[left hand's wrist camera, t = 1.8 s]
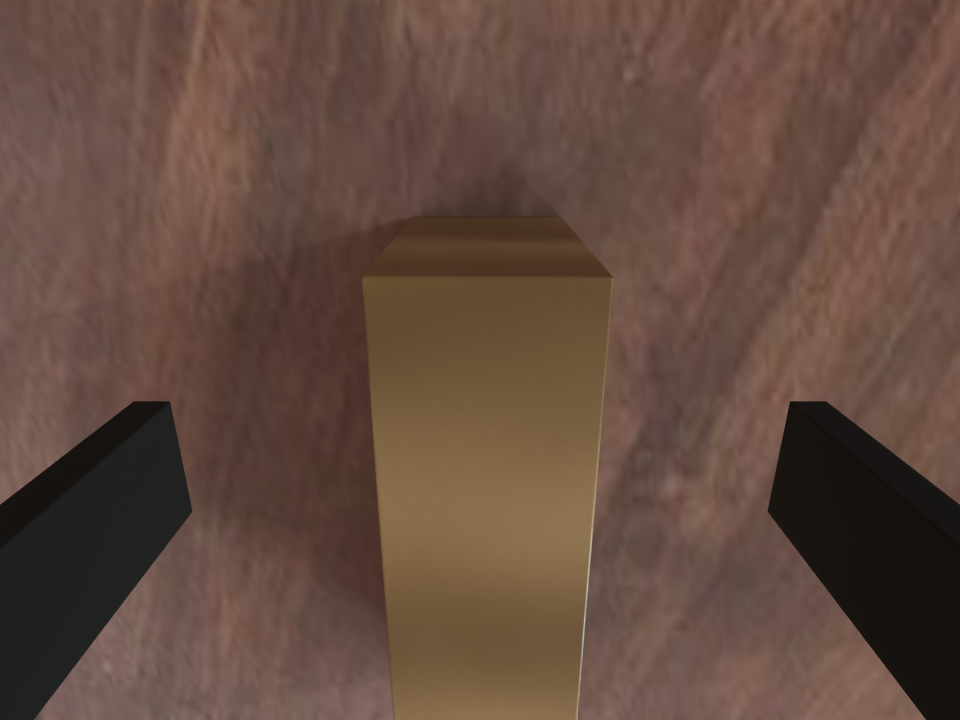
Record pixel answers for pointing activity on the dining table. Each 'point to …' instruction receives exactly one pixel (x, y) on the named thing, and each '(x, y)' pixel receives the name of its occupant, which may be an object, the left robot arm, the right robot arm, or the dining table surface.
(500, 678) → the box
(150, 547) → the left robot arm
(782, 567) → the dining table surface
